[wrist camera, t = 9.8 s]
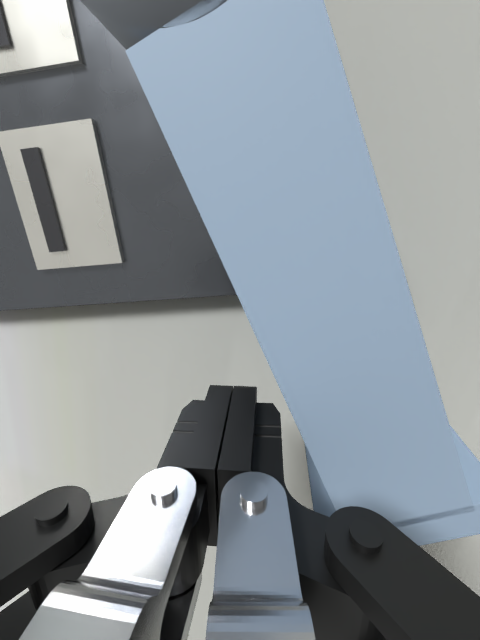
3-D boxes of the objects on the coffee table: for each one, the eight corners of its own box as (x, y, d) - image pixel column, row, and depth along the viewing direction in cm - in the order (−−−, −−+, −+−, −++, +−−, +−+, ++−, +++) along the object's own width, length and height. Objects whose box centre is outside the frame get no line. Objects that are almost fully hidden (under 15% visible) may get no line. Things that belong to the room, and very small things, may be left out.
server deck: (247, -256, 10) (234, -487, 7) (278, 286, 16) (279, 308, 13) (-177, -138, 12) (-351, -270, 9) (-14, 307, 18) (-81, 330, 15)
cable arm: (112, -5, 10) (-73, -246, 5) (258, -109, 9) (236, -578, 3) (309, 433, 14) (329, 563, 9) (420, 401, 13) (516, 526, 8)
